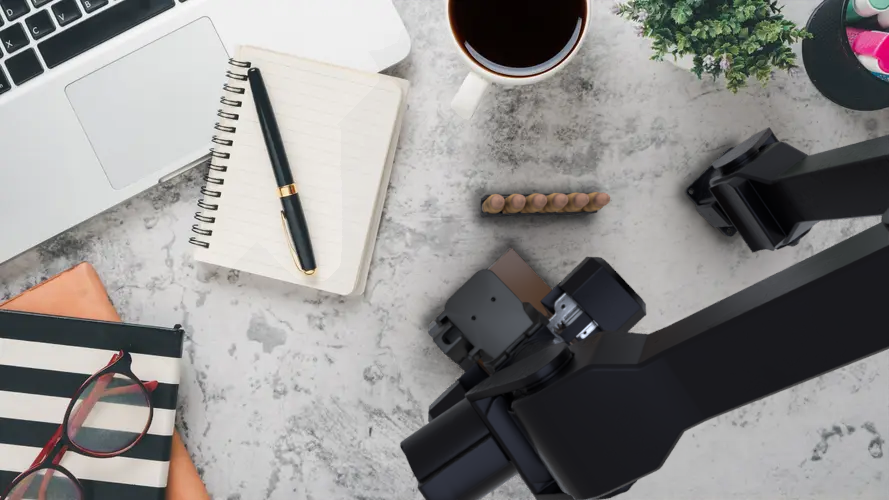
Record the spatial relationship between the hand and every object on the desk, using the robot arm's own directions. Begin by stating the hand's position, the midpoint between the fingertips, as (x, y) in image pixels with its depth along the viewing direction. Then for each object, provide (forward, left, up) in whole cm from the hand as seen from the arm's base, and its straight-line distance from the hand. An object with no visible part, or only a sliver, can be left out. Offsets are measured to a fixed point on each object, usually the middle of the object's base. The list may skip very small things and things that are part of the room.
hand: (523, 344), depth 60 cm
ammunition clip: (-10, -8, -5) cm, 14 cm away
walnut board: (0, 0, -5) cm, 5 cm away
